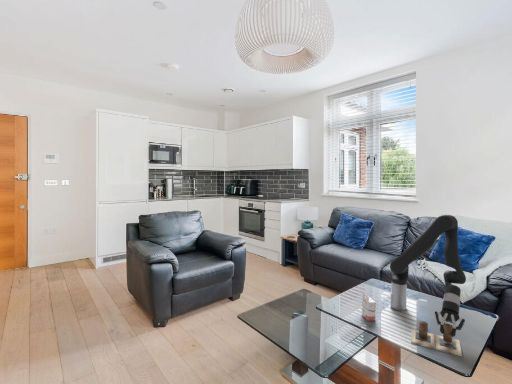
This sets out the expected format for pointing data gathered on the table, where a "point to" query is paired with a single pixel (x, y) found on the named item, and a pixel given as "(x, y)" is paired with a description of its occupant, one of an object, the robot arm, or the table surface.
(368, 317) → the ink cartridge box
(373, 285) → the table surface
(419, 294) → the table surface
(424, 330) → the pin
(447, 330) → the walnut pin
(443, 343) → the board
